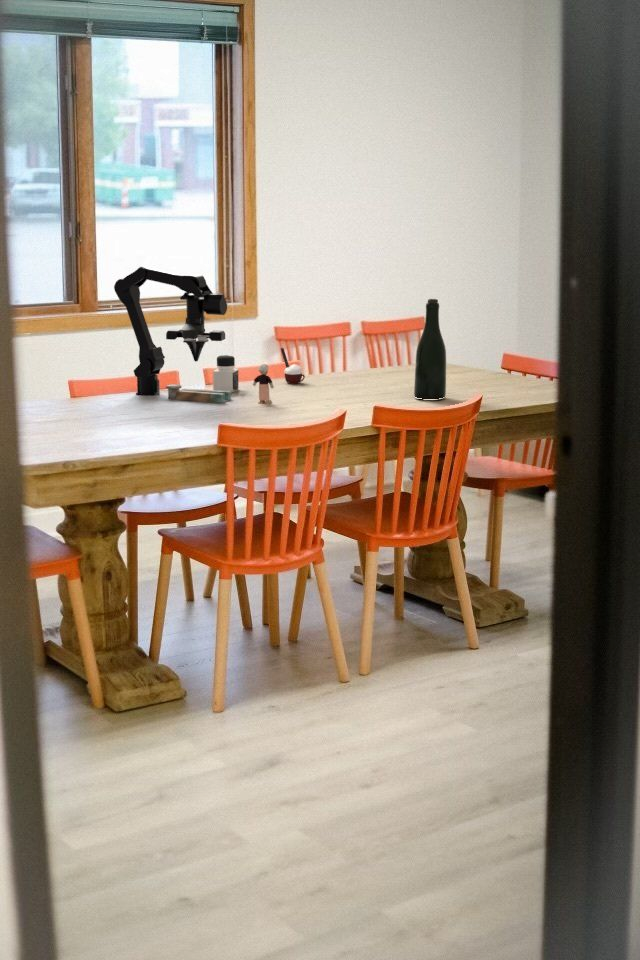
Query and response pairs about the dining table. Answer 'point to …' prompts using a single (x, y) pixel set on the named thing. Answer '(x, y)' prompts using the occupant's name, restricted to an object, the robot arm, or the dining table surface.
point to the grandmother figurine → (263, 384)
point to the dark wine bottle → (431, 357)
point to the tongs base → (174, 388)
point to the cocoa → (292, 371)
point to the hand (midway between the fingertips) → (196, 361)
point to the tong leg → (200, 396)
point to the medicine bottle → (225, 374)
